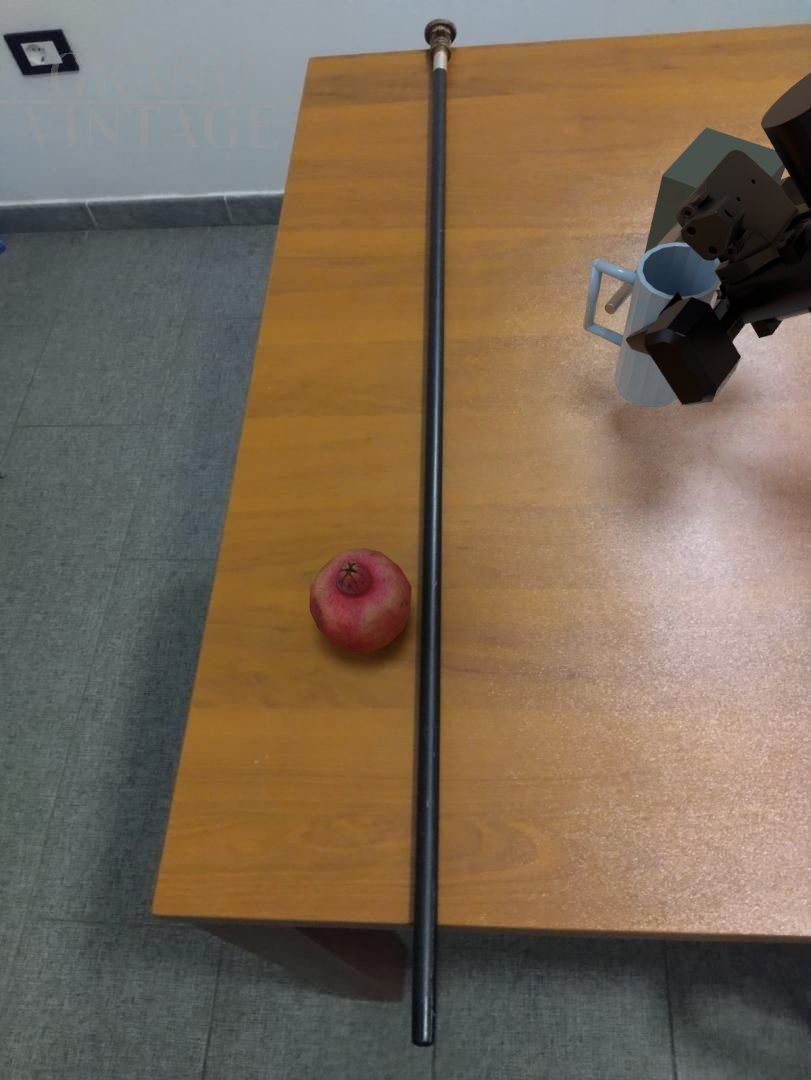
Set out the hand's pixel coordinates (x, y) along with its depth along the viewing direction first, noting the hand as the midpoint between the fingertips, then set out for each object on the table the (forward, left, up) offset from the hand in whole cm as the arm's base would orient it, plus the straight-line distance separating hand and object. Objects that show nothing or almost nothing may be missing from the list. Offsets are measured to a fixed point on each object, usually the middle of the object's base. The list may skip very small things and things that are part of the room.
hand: (649, 318), depth 60 cm
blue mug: (0, 0, -7) cm, 7 cm away
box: (-3, -11, -13) cm, 17 cm away
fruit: (+21, +23, -13) cm, 34 cm away
